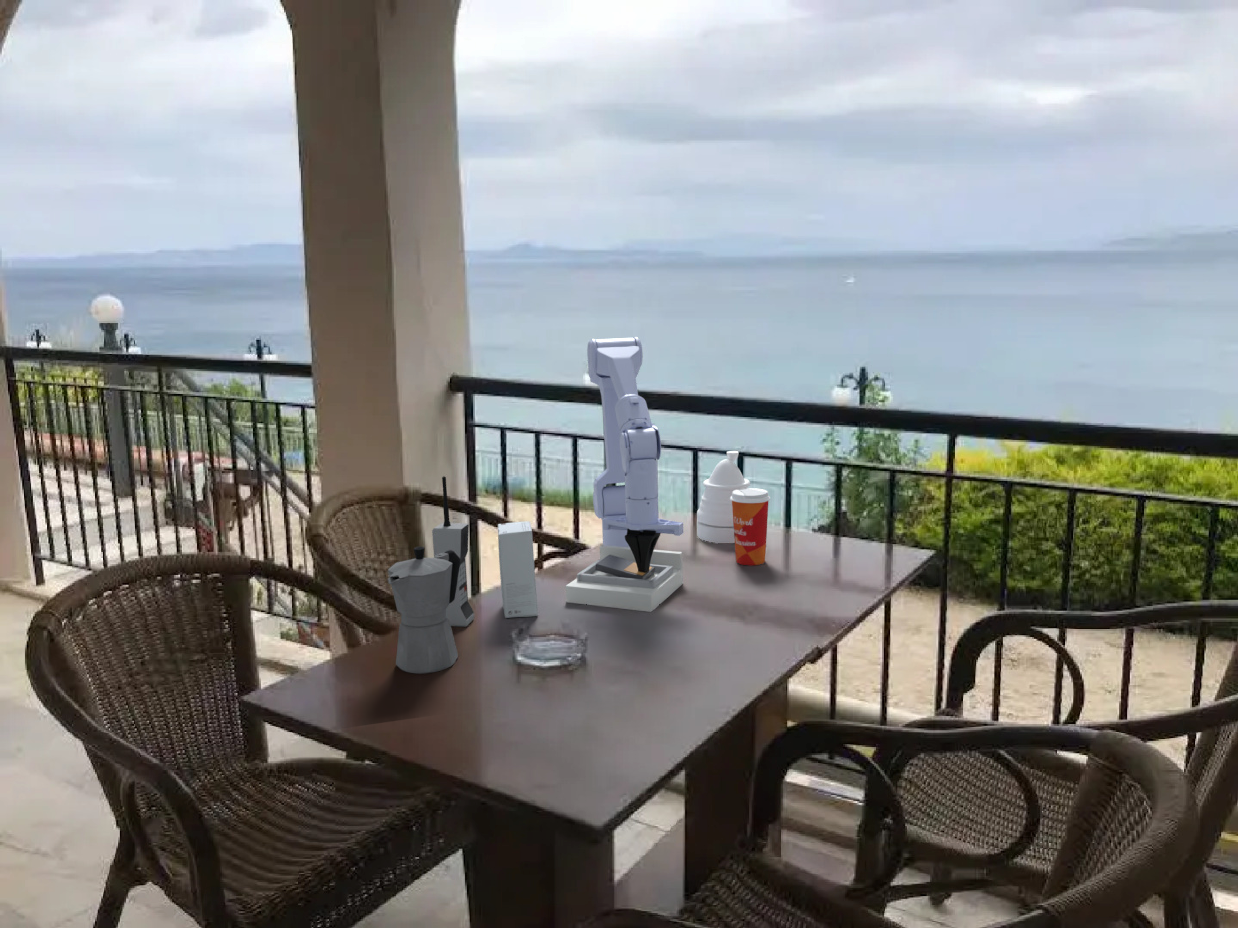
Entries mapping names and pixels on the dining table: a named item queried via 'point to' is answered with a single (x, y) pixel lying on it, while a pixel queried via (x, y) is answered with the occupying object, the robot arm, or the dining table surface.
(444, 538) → the vintage mobile phone
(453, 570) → the coffeepot
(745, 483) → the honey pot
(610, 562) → the block
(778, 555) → the dining table surface
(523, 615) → the skincare box
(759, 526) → the paper cup
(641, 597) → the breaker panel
